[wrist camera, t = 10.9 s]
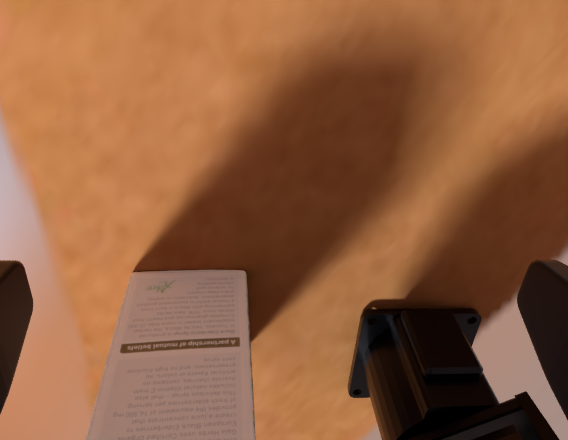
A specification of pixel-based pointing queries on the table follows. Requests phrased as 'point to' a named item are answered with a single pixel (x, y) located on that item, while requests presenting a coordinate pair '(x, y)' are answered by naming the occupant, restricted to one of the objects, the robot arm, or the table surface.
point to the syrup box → (179, 360)
